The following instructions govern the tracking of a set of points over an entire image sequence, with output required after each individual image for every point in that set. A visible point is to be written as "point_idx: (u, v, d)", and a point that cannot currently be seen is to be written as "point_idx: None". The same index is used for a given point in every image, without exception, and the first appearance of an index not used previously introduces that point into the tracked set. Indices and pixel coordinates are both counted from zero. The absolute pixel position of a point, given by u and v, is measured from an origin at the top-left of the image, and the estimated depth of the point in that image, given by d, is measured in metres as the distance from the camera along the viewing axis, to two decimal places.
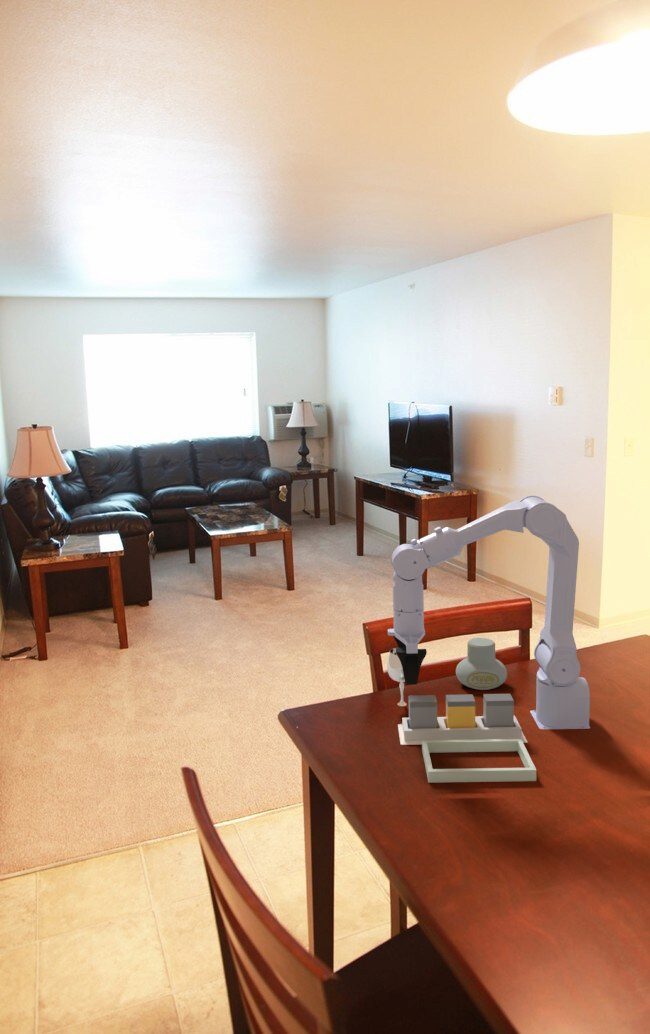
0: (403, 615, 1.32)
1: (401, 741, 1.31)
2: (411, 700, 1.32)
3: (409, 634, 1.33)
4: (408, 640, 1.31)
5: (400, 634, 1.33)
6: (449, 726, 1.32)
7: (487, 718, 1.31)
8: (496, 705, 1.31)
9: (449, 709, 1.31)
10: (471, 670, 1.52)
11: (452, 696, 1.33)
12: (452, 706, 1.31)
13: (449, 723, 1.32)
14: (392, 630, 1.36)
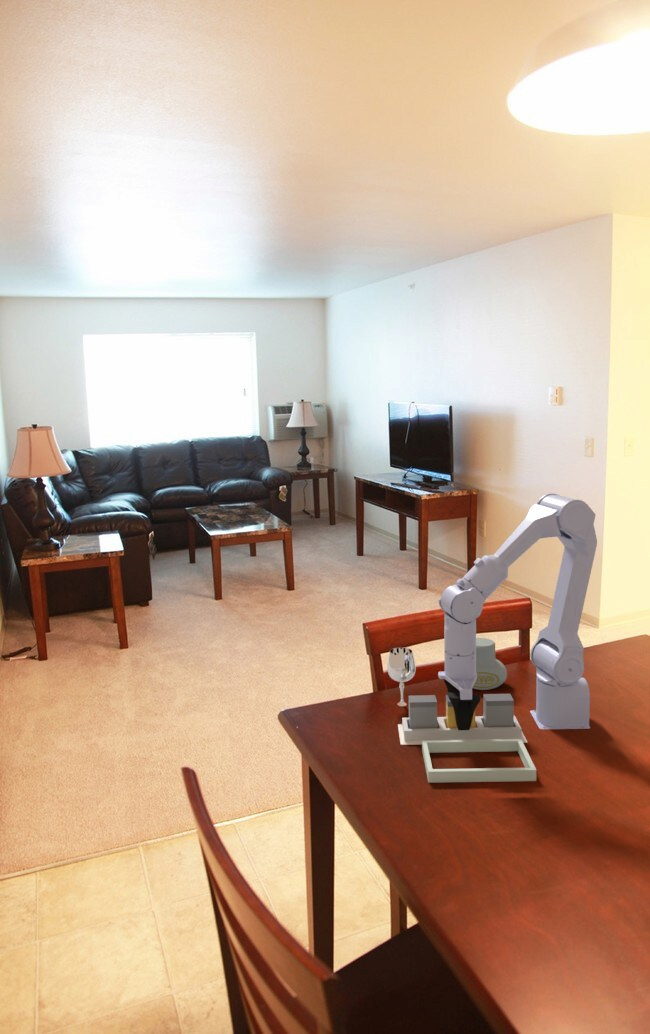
0: (455, 658, 1.28)
1: (401, 741, 1.31)
2: (411, 700, 1.32)
3: (462, 678, 1.29)
4: (461, 685, 1.27)
5: (452, 678, 1.29)
6: (449, 726, 1.32)
7: (487, 718, 1.31)
8: (496, 705, 1.31)
9: (449, 709, 1.31)
10: None
11: None
12: (452, 706, 1.31)
13: (449, 723, 1.32)
14: (443, 673, 1.32)
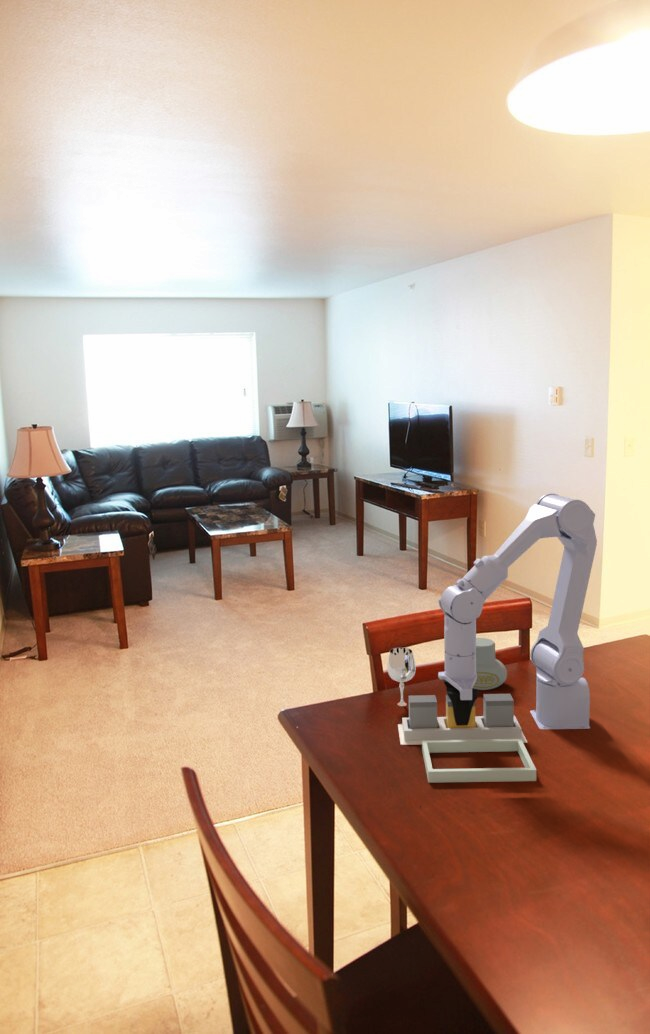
0: (455, 659, 1.28)
1: (401, 741, 1.31)
2: (411, 700, 1.32)
3: (462, 679, 1.29)
4: (461, 685, 1.27)
5: (452, 678, 1.29)
6: (449, 726, 1.32)
7: (487, 718, 1.31)
8: (496, 705, 1.31)
9: (449, 709, 1.31)
10: None
11: None
12: (452, 706, 1.31)
13: (449, 723, 1.32)
14: (443, 673, 1.32)
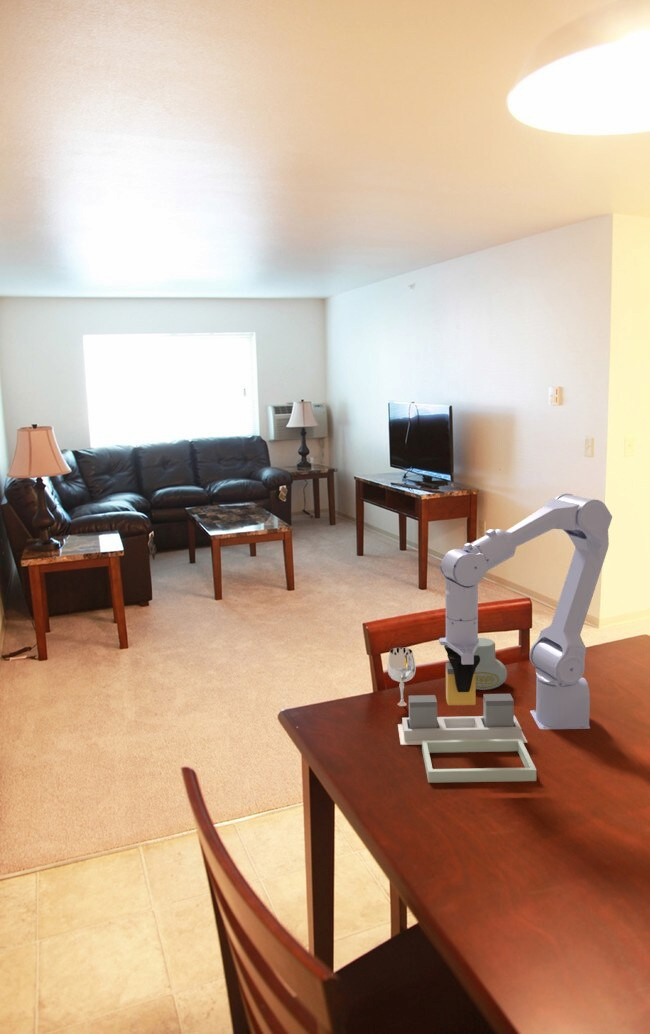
0: (457, 623, 1.26)
1: (401, 741, 1.31)
2: (411, 700, 1.32)
3: (463, 644, 1.26)
4: (463, 650, 1.24)
5: (453, 644, 1.27)
6: (449, 694, 1.29)
7: (487, 718, 1.31)
8: (496, 705, 1.31)
9: (449, 676, 1.29)
10: None
11: None
12: (452, 673, 1.29)
13: (449, 691, 1.29)
14: (444, 639, 1.29)
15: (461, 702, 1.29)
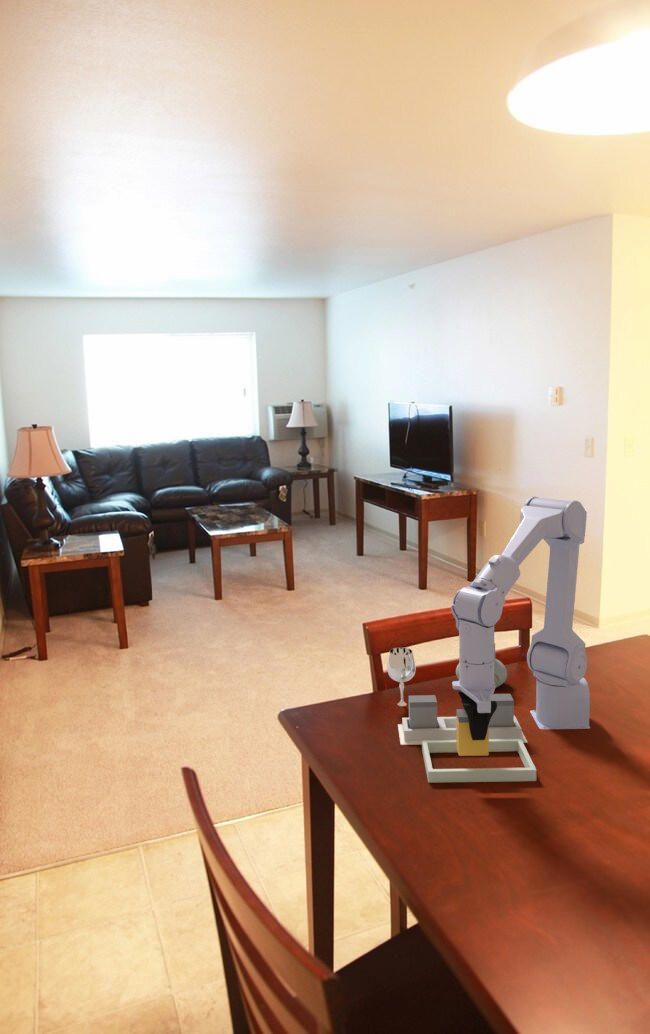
0: (472, 667, 1.16)
1: (401, 741, 1.31)
2: (411, 700, 1.32)
3: (478, 689, 1.17)
4: (478, 697, 1.15)
5: (468, 689, 1.17)
6: (460, 744, 1.20)
7: None
8: None
9: (460, 725, 1.19)
10: None
11: (463, 711, 1.21)
12: (463, 722, 1.19)
13: (460, 740, 1.20)
14: (457, 683, 1.20)
15: (473, 752, 1.20)
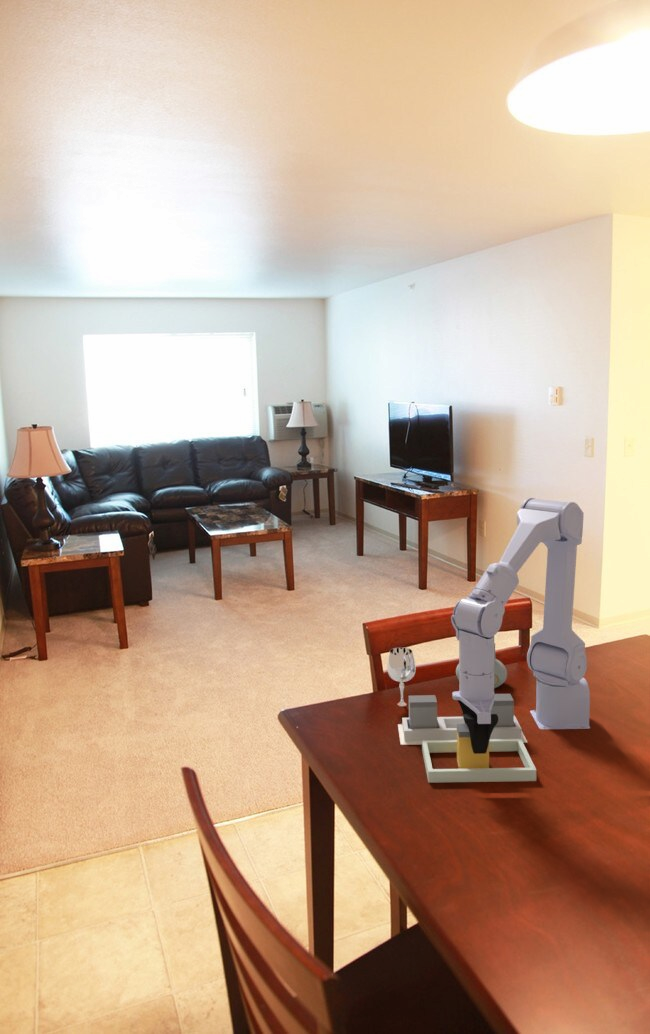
0: (472, 678, 1.17)
1: (401, 741, 1.31)
2: (411, 700, 1.32)
3: (479, 700, 1.17)
4: (478, 707, 1.15)
5: (468, 699, 1.18)
6: (460, 758, 1.20)
7: None
8: (496, 705, 1.31)
9: (460, 740, 1.20)
10: None
11: (464, 725, 1.22)
12: (464, 737, 1.20)
13: (460, 755, 1.20)
14: (458, 693, 1.20)
15: (473, 767, 1.21)
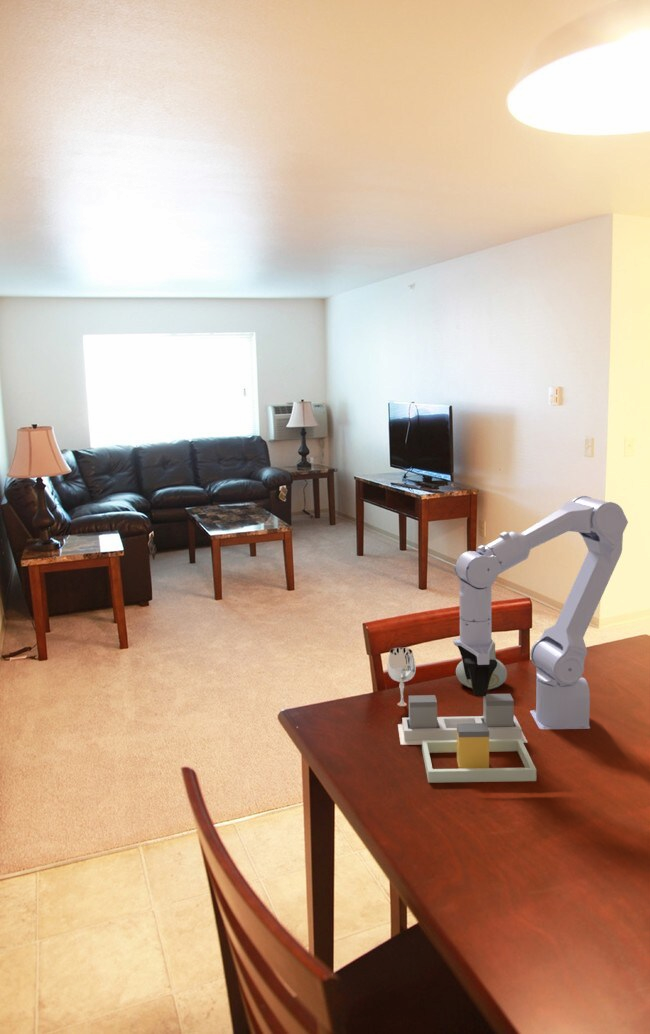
0: (471, 624, 1.28)
1: (401, 741, 1.31)
2: (411, 700, 1.32)
3: (478, 644, 1.28)
4: (478, 651, 1.26)
5: (468, 644, 1.29)
6: (460, 758, 1.20)
7: (487, 718, 1.31)
8: (496, 705, 1.31)
9: (460, 740, 1.20)
10: None
11: (464, 725, 1.22)
12: (464, 737, 1.20)
13: (460, 755, 1.20)
14: (458, 640, 1.31)
15: (473, 767, 1.21)
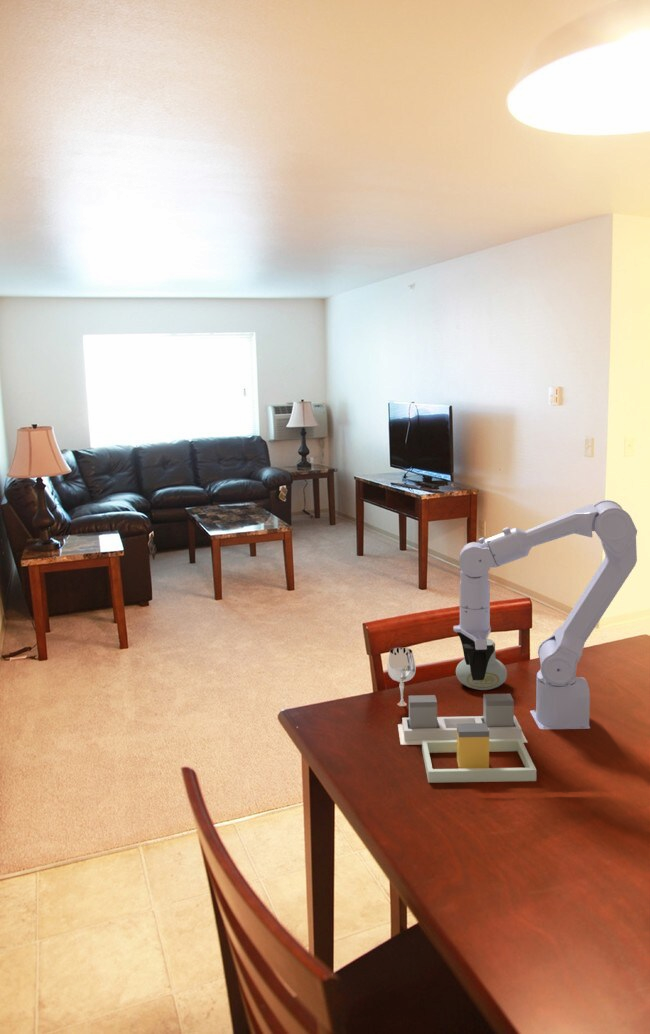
0: (470, 611, 1.35)
1: (401, 741, 1.31)
2: (411, 700, 1.32)
3: (476, 631, 1.35)
4: (476, 636, 1.33)
5: (467, 631, 1.36)
6: (460, 758, 1.20)
7: (487, 718, 1.31)
8: (496, 705, 1.31)
9: (460, 740, 1.20)
10: None
11: (464, 725, 1.22)
12: (464, 737, 1.20)
13: (460, 755, 1.20)
14: (458, 627, 1.38)
15: (473, 767, 1.21)
